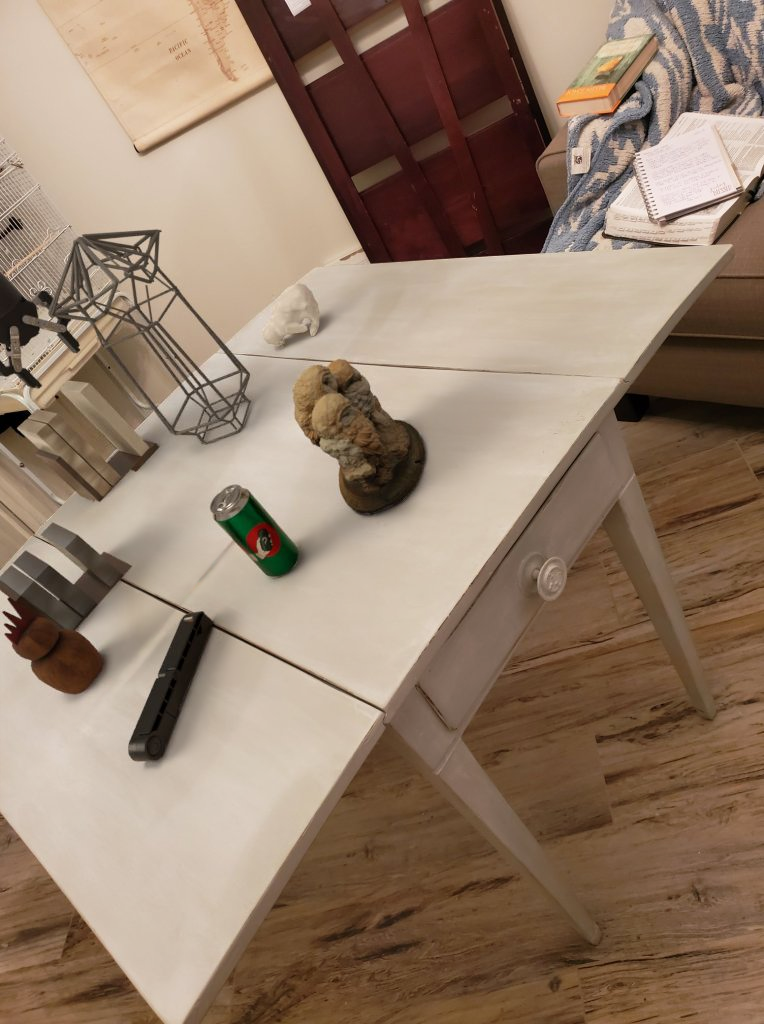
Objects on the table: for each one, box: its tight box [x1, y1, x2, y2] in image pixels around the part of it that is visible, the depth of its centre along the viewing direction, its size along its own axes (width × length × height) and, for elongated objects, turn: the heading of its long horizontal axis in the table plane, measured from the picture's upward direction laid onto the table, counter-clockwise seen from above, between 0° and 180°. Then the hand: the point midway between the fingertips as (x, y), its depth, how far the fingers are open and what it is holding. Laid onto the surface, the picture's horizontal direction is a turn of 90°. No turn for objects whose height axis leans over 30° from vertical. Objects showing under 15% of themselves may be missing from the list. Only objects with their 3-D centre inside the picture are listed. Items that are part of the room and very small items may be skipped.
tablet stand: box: [127, 610, 214, 763], centre depth 80 cm, size 18×3×3 cm, turn 168°
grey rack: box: [0, 522, 133, 631], centre depth 101 cm, size 13×10×10 cm
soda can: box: [209, 484, 300, 578], centre depth 84 cm, size 5×5×12 cm
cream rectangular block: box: [58, 379, 150, 456], centre depth 124 cm, size 2×9×15 cm, turn 51°
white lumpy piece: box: [261, 282, 320, 348], centre depth 127 cm, size 6×8×12 cm
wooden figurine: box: [1, 597, 105, 695], centre depth 86 cm, size 7×6×15 cm
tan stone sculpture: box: [292, 358, 426, 515], centre depth 86 cm, size 18×12×17 cm, turn 5°
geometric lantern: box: [47, 228, 252, 445], centre depth 110 cm, size 16×16×35 cm
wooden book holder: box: [16, 408, 160, 503], centre depth 122 cm, size 14×10×16 cm
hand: (58, 369), depth 117 cm, fingers open, 8 cm apart
